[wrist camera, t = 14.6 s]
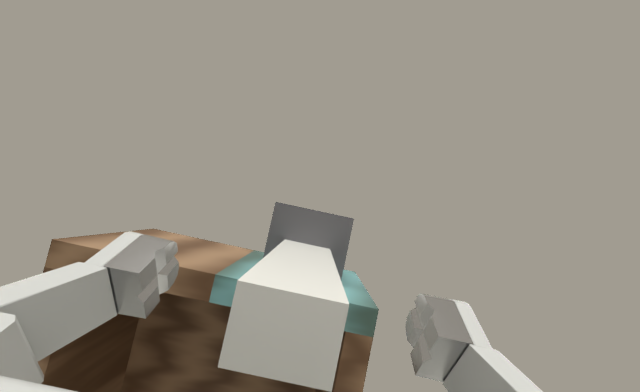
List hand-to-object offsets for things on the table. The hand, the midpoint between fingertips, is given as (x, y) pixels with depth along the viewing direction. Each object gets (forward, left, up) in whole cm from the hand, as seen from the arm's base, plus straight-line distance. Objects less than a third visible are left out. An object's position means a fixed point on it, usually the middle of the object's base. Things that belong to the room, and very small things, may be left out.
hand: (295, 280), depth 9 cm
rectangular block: (0, +10, -4) cm, 11 cm away
